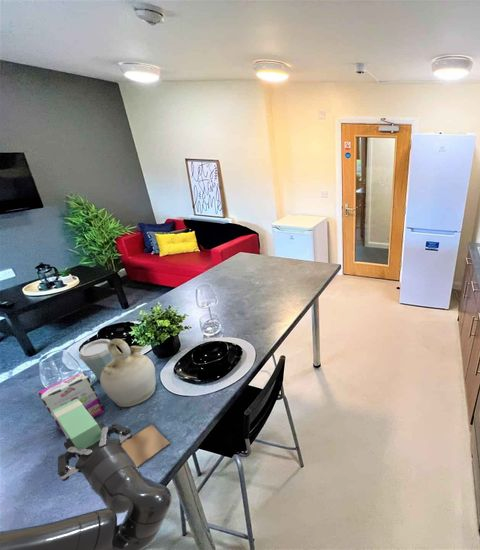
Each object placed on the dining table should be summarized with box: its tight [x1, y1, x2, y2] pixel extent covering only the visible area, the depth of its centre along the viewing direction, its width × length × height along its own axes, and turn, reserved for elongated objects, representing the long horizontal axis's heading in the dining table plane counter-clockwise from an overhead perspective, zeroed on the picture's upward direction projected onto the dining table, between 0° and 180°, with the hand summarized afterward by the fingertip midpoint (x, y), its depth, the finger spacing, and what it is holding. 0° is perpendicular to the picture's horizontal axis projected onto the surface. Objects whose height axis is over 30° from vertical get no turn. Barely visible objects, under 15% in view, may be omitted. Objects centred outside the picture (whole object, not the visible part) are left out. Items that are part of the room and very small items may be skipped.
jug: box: [99, 338, 157, 408], centre depth 104 cm, size 15×16×25 cm
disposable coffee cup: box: [78, 338, 115, 381], centre depth 113 cm, size 11×11×15 cm
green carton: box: [52, 399, 101, 449], centre depth 76 cm, size 5×14×10 cm, turn 58°
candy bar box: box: [37, 370, 106, 436], centre depth 95 cm, size 11×5×16 cm, turn 147°
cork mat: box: [121, 424, 171, 469], centre depth 90 cm, size 12×12×1 cm
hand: (83, 432), depth 74 cm, fingers closed on green carton, 5 cm apart
